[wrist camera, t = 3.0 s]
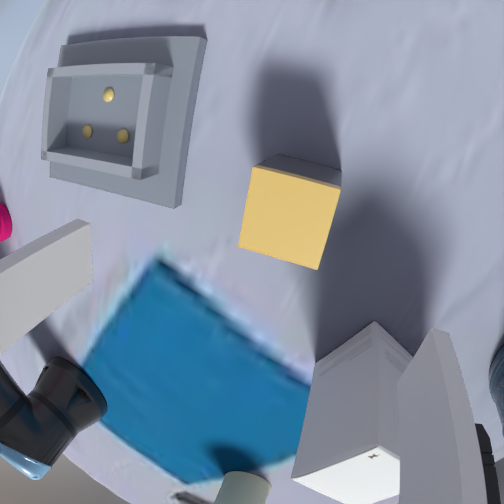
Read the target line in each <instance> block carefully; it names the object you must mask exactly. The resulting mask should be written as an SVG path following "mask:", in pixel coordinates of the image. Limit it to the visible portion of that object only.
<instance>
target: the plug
mask: <svg viewBox="0 0 504 504" xmlns="http://www.w3.org/2000/svg"><path fill="white" fill-rule="evenodd" d="M341 173H342V171H341V170H338V169H334V168H331V167H327V166H323V165H320V164H316V163H312V162H308V161H304V160H301V159H297V158H293V157H289V156H284V155H280V154H277V155H275V156H273V157H271V158H269V159H267V160H265V161H263V162H261V163H259V164H258V165H256V166H254V167H253V169H252V174H251V179H250V185H249V190H248V195H247V201H246V206H245V211H244V217H243V222H242V227H241V233H240V238H239V243H238V247H240V248H244V249H247V250H251V251H254V252H257V253H261V254H264V255H268V256H271V257H274V258H278V259H281V260H285V261H288V262H292V263H295V264H298V265H302V266H305V267H309V268H312V269H315V270H318V267H319V263H320V260H321V257H322V254H323V250H324V247H325V244H326V241H327V237H328V234H329V230H330V227H331V224H332V220H333V217H334V213H335V210H336V206H337V202H338V199H339V195H340V192H341Z"/></svg>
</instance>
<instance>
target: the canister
mask: <svg viewBox="0 0 504 504" xmlns="http://www.w3.org/2000/svg"><path fill="white" fill-rule="evenodd" d="M489 388H490V393H491V396H492V399H493V401H494V402H495V404H496V407H497V410H498V413H499V417H500V420H501V423H502V427H503V430H502V432H503V436H504V345H503V346H502V348H501V349H500V350H499V352H498V353H497V355H496V357H495V358H494V360H493V363H492V365H491V368H490V372H489Z"/></svg>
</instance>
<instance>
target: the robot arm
mask: <svg viewBox="0 0 504 504" xmlns="http://www.w3.org/2000/svg"><path fill="white" fill-rule="evenodd" d="M93 281H94V280H93V268H92V252H91V229H90V223H88V222H85V221H82V220H79V219H76V220H74V221H72V222H70V223H68V224H66V225H64V226H62V227H60V228H58V229H56V230H54V231H52V232H50V233H48V234H46V235H44V236H42V237H40V238H38V239H36V240H34V241H33V242H31V243H29V244H27V245H25V246H23V247H21V248H20V249H18V250H16V251H14V252H12V253H11V254H9V255H7V256H5V257H4V258H2V259H0V355H1V354H2V353H4V352H5V351H6V350H7V349H8V348H10V347H11V346H12V345H13V344H14V343H16V342H17V341H18V340H19V339H20V338H22V337H23V336H24V335H25V334H26V333H28V332H29V331H30V330H31V329H33V328H34V327H35V326H36V325H38V324H39V323H40V322H41V321H43V320H44V319H45V318H46V317H48V316H49V315H50V314H51V313H53V312H54V311H55V310H57V309H58V308H59V307H60V306H62V305H63V304H64V303H66V302H67V301H68V300H70V299H71V298H72V297H73V296H75V295H76V294H77V293H79V292H80V291H81V290H83V289H84V288H85V287H87V286H88V285H89V284H91V283H92V282H93ZM397 391H398V406H399V428H400V490H399V504H501V502H500V494H499V487H498V480H497V474H496V468H495V467H494V464H495V462H494V457H493V455H492V447H491V442H490V438H489V436H488V434H487V432H486V431H485V429H484V427H483V425H482V424H475V423H474V419H473V414H472V410H471V406H470V402H469V398H468V394H467V390H466V387H465V383H464V380H463V376H462V373H461V369H460V366H459V363H458V360H457V356H456V353H455V350H454V347H453V344H452V341H451V338H450V335H449V333H448V332H445V331H441V330H437V329H433V328H430V330H429V332H428V334H427V335H426V337H425V339H424V341H423V342H422V344H421V346H420V347H419V349H418V351H417V352H416V354H415V356H414V357H413V359H412V360H411V362H410V364H409V365H408V367H407V368H406V370H405V371H404V373H403V375H402V376H401V378H400V379H399V381H398V382H397ZM106 412H107V404H106V401H105V399H104V397H103V396H102V394H101V392H100V391H99V390H98V388H97V387H96V386H95V385H94V383H93V382H92V381H91V380H90V379H89V378H88V377H87V376H86V375H85V374H84V373H83V372H82V371H80V370H79V369H78V368H77V367H75V366H74V365H73V364H71V363H70V362H68V361H66V360H64V359H62V358H58V357H54V358H52V359H51V360H50V361H49V362H48V363H47V364H46V365H45V366H44V368H43V370H42V372H41V374H40V376H39V379H38V381H37V383H36V385H35V387H34V389H33V390H32V391H31V392H30V393H29V394H28V395H27V396H26V395H25V393H24V392H23V391H22V390H21V388H20V387H19V386H18V385H17V383H16V382H15V381H14V379H13V378H12V377H11V375H10V374H9V372H8V371H7V370H6V368H5V367H4V365H3V364H2V362H1V361H0V456H1V457H3V458H4V459H5V460H6V461H7V462H9V463H10V464H11V465H12V466H14V467H15V468H16V469H18V470H19V471H21V472H22V473H23V474H25V475H26V476H28V477H29V478H31V479H34V480H38V479H41V478H42V477H43V476H44V475H45V473H46V472H47V471H48V470H49V469H51V468H52V466H53V464H54V463H55V462H56V461H57V459H58V458H59V456H60V455H61V454H62V453H63V452H64V450H65V449H66V448H67V446H68V445H69V444H70V443H71V441H72V440H73V439H74V437H75V436H76V435H77V434H78V433H79V432H80V431H82V430H84V429H86V428H87V427H89V426H91V425H92V424H94V423H96V422H97V421H99V420H100V419H101V418H102V417H103V416H104V415H105V413H106Z"/></svg>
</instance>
